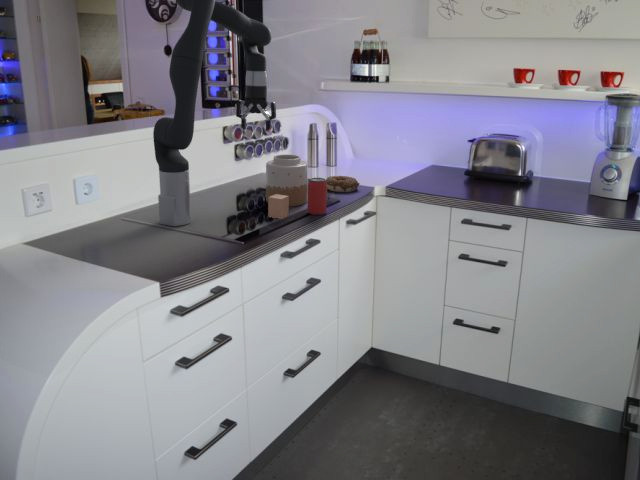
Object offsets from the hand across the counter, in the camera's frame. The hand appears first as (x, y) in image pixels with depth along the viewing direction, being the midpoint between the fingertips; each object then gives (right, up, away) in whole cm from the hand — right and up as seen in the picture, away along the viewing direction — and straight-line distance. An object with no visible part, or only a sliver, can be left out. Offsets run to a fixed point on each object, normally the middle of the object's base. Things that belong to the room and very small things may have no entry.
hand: (256, 130), depth 219 cm
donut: (+32, -20, +27) cm, 46 cm away
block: (+9, -32, -14) cm, 36 cm away
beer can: (+22, -31, -8) cm, 39 cm away
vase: (+11, -26, +6) cm, 28 cm away
